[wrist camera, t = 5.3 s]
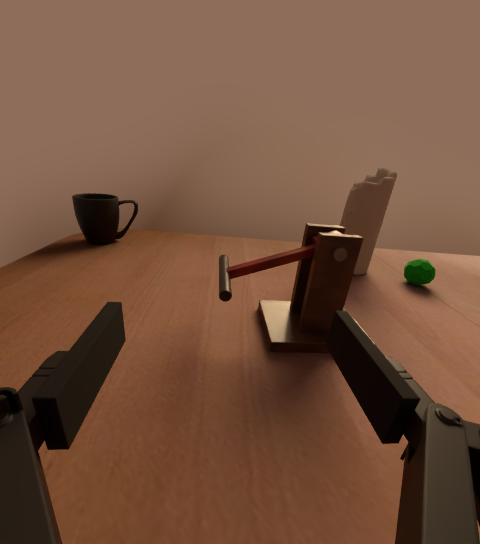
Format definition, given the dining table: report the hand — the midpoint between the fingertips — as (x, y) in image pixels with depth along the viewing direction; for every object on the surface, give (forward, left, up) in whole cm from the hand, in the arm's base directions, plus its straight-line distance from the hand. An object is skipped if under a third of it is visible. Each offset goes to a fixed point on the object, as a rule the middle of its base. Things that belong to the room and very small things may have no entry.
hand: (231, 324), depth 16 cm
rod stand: (+13, +12, -9) cm, 20 cm away
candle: (+28, +33, -9) cm, 44 cm away
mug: (-19, +46, -9) cm, 51 cm away
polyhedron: (+41, +25, -9) cm, 48 cm away
